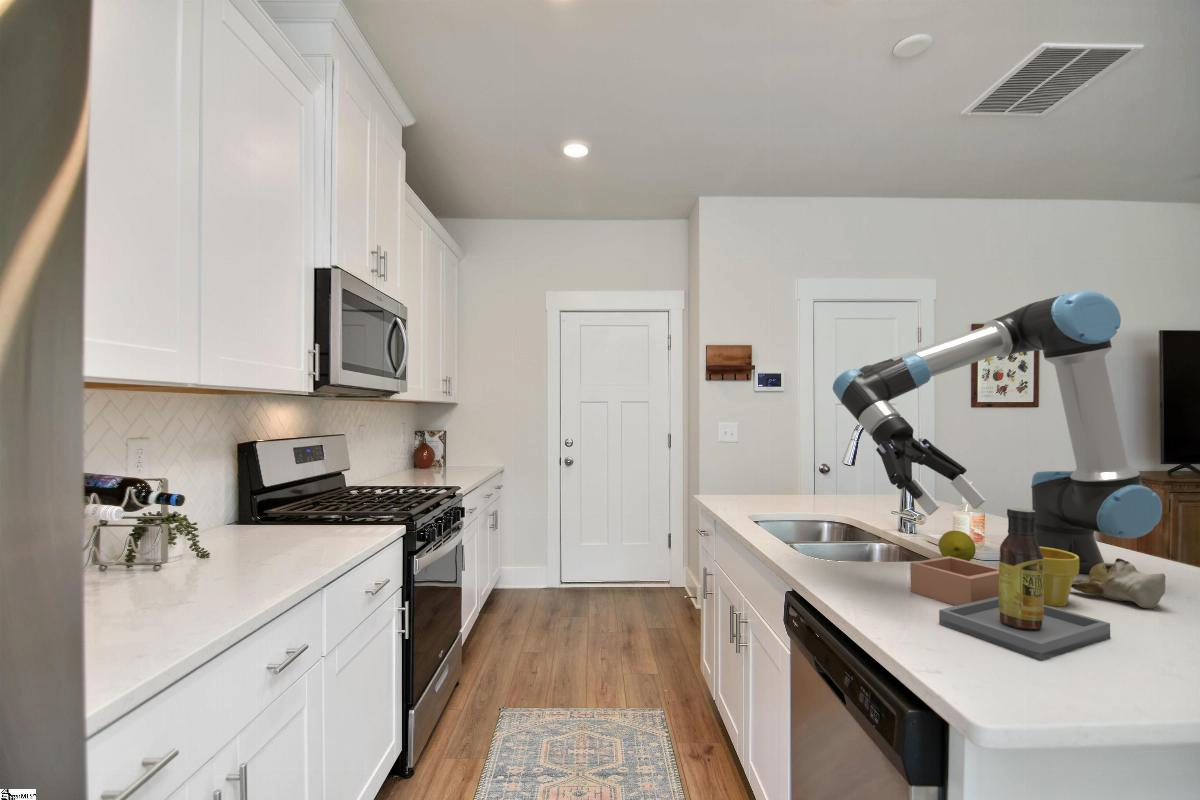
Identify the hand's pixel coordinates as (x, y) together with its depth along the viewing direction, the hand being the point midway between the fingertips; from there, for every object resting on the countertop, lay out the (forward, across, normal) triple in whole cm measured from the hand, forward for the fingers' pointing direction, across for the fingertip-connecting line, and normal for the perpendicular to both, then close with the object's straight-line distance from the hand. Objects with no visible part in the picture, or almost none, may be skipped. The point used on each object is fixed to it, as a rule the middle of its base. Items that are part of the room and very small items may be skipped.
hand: (958, 507), depth 107 cm
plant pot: (+17, -21, -12) cm, 29 cm away
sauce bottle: (+21, 0, -6) cm, 21 cm away
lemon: (-1, -32, -29) cm, 43 cm away
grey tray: (+21, 0, -6) cm, 22 cm away
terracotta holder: (+10, -8, -18) cm, 22 cm away
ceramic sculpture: (+21, -35, -8) cm, 42 cm away
